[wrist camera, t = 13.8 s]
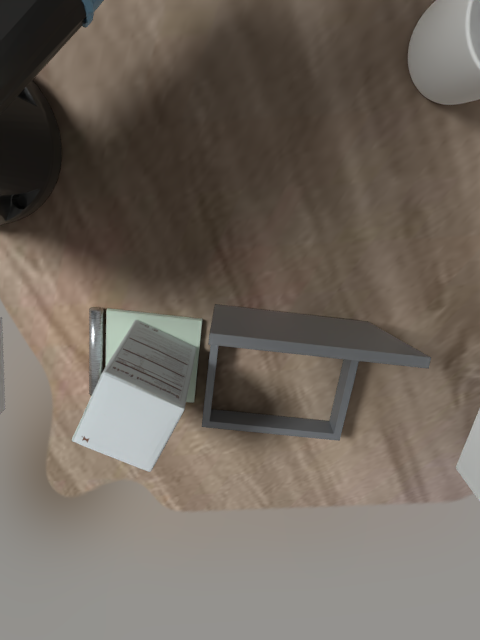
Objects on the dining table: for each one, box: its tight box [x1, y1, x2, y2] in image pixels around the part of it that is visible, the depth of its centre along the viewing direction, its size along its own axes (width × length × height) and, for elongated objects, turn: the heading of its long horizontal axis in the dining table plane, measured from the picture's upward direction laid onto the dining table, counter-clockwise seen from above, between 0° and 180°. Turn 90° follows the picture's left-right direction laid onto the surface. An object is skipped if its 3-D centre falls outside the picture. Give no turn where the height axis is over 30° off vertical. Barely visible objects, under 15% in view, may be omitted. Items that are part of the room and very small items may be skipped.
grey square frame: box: [202, 345, 359, 441], centre depth 47 cm, size 16×14×2 cm
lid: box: [209, 304, 431, 368], centre depth 36 cm, size 16×14×1 cm
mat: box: [106, 308, 202, 403], centre depth 47 cm, size 10×10×1 cm
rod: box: [89, 307, 104, 396], centre depth 46 cm, size 1×10×1 cm, turn 173°
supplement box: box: [72, 320, 197, 472], centre depth 41 cm, size 7×7×13 cm
